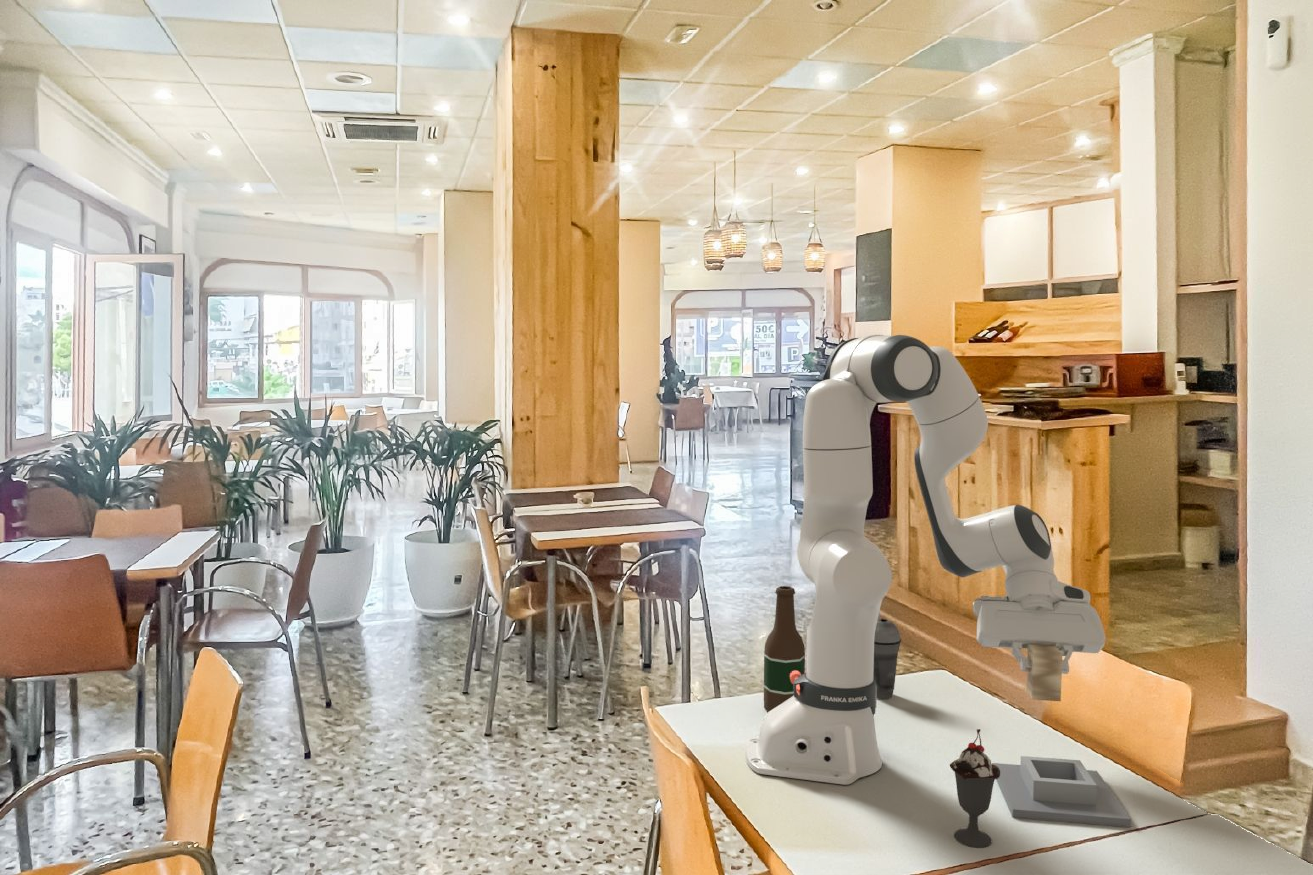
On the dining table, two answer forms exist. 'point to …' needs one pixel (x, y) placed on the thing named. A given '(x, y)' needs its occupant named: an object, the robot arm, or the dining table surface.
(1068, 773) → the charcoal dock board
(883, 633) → the beverage cup
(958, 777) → the sundae
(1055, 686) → the wooden block
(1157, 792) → the dining table surface
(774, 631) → the beer bottle
